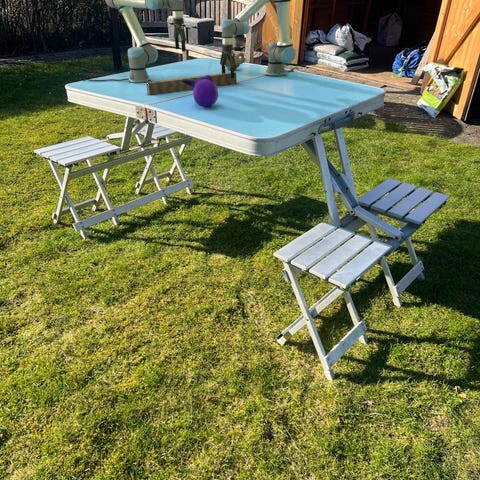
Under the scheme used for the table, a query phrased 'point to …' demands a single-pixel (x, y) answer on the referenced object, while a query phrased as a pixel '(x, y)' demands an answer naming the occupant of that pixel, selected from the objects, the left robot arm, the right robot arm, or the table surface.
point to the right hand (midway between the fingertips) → (228, 76)
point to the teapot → (235, 60)
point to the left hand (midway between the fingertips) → (180, 50)
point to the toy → (204, 91)
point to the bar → (178, 85)
